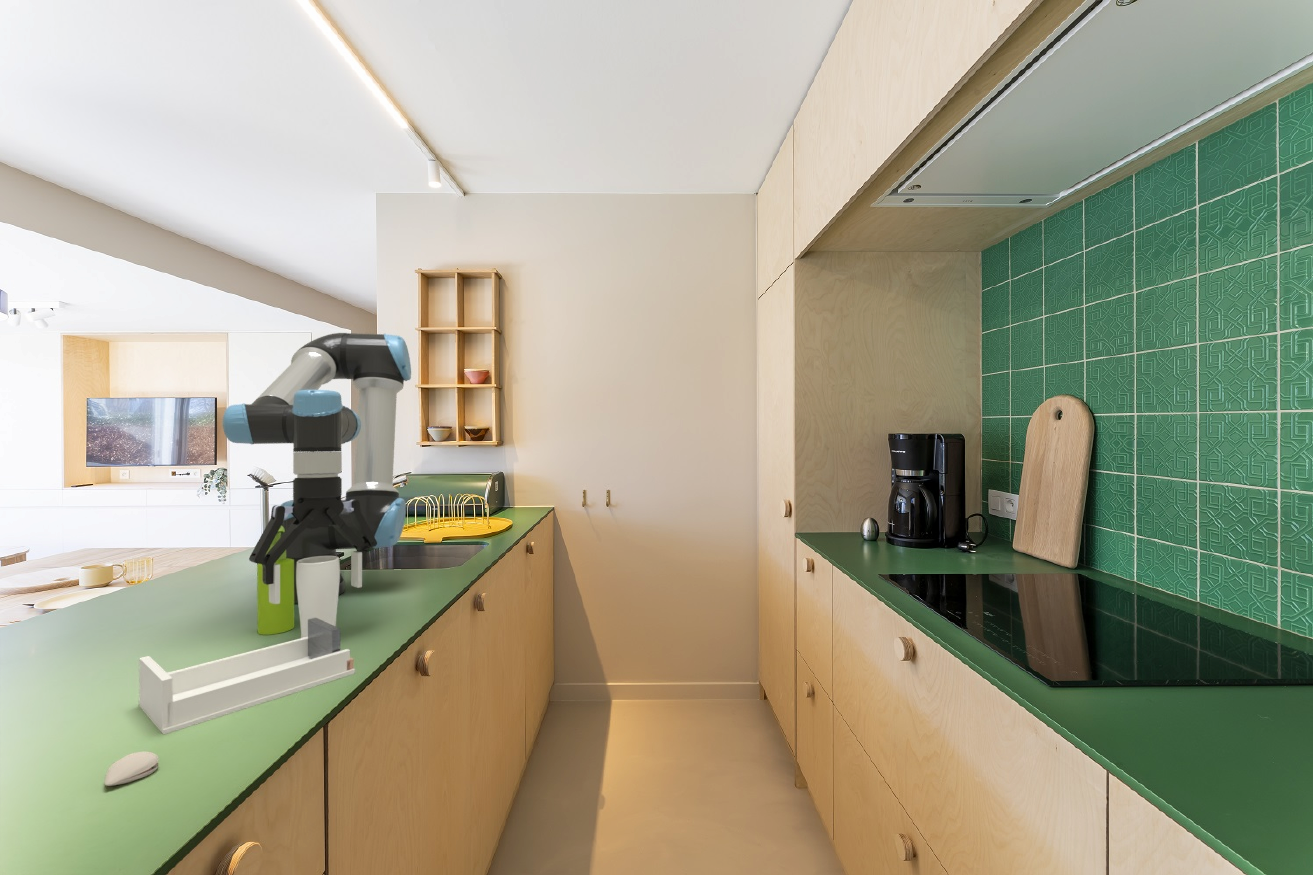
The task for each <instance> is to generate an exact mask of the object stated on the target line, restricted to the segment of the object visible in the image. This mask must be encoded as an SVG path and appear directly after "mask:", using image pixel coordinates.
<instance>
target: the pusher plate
mask: <svg viewBox="0 0 1313 875" xmlns="http://www.w3.org/2000/svg"><path fill="white" fill-rule="evenodd" d="M338 651H341V628H340V627H337V625H336V626H333V625H331V624H329V623H327V622H324V621H322V620H320V619H318V618H312V619H308V656H309V657H311V658H313V659H314V658H317V657H321V656H324V655H328V654H331V653H335V652H338Z"/></svg>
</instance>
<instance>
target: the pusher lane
mask: <svg viewBox="0 0 1313 875" xmlns="http://www.w3.org/2000/svg"><path fill="white" fill-rule="evenodd" d="M138 664H139V665H138V666H139V668H138V672H139V675H138V676H139V680H138V681H139V689H138V690H139V692H138V693H139V700H138V707H139V708H141V710H142V711H143V712H144V714H146V715H147V717H148V718H149V719H150V720H151V722H152V723H153V724H154V725H155V726H156V728H158V730H159V731H160V733H162V735H167V734H169V733H170V734H171V733H173V732H176V731H179V730H182V729H186V728H188V727H191V726H195V725H197V724H201V723H205V722H207V721H210V720H213V719H217V718H219V717H224V716H226V715H228V714H232V713H235V712H238V711H243V710H245V709H247V708H252V707H254V706H258V705H261V704H263V703H266V702H267V703H268V702H270V701H273V700H274V701H275V700H277V699H279V698H282V697H283V698H284V697H286V696H290V695H292V694H295V693H299V692H302V691H305V690H308V689H312V688H314V687H317V686H320V685H325V683H326V684H327V683H330V682H333V681H337V680H340V679H342V678H345V677H349V676H352V675H355V674H356V668H354V658H353V657H351V650H350V649H349V648H346V649H342V650H340V651H338V652H335V653H331V654H328V655H324V656H321V657H317V658H314V659H313V658H311V657H309V656H308V637H304V638H301V637H300V638H297V639H294V640H290V641H285V642H281V643H277V644H272V645H269V646H267V647H265V646H264V647H262V648H258V649H253V650H250V651H247V652H242V653H238V654H235V655H231V656H227V657H223V658H220V659H216V660H215V659H214V660H212V661H208V662H203V663H200V664H195V665H192V666H188V667H185V668H181V669H177V670H173V671H168V672H167V671H166V670H165V669H163V667H161V665H159V664H158V662H156V661H155V660H154V659H153V658H152V657H151V656H150V655H147V656H143V657H139V663H138Z"/></svg>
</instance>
